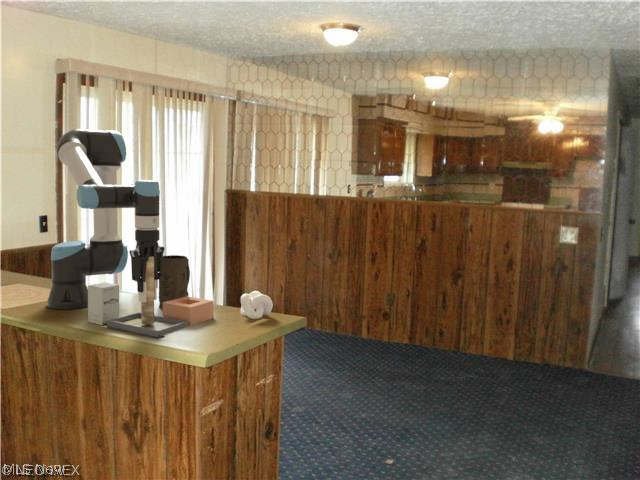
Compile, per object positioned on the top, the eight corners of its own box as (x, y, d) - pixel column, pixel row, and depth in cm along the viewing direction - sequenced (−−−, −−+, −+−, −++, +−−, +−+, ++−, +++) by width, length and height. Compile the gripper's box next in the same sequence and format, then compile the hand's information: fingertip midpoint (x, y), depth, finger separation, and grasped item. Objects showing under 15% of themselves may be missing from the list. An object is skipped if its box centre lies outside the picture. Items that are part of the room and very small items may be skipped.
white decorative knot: (260, 324, 216) (260, 298, 215) (230, 319, 221) (230, 294, 220) (275, 317, 227) (276, 292, 226) (246, 312, 232) (246, 288, 230)
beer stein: (180, 313, 227) (182, 258, 225) (152, 311, 229) (154, 256, 227) (197, 307, 242) (198, 255, 240) (170, 305, 244) (172, 253, 243)
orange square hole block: (162, 322, 214) (162, 302, 213) (186, 315, 225) (186, 296, 224) (190, 328, 208) (190, 307, 208) (213, 320, 219) (213, 300, 218)
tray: (107, 327, 206) (107, 320, 206) (138, 319, 218) (138, 311, 218) (157, 338, 195) (157, 330, 195) (188, 328, 208) (188, 321, 207)
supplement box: (102, 325, 209) (101, 287, 207) (87, 321, 212) (86, 284, 211) (120, 321, 215) (119, 284, 213) (105, 317, 219) (105, 281, 217)
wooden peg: (138, 323, 206) (138, 256, 203) (147, 320, 209) (147, 255, 206) (148, 325, 204) (147, 257, 201) (156, 322, 207) (156, 256, 204)
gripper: (136, 231, 193) (136, 306, 196) (174, 227, 208) (174, 297, 211) (118, 229, 197) (119, 303, 200) (157, 225, 212) (157, 294, 215)
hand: (147, 300), depth 206 cm, fingers closed on wooden peg, 4 cm apart
